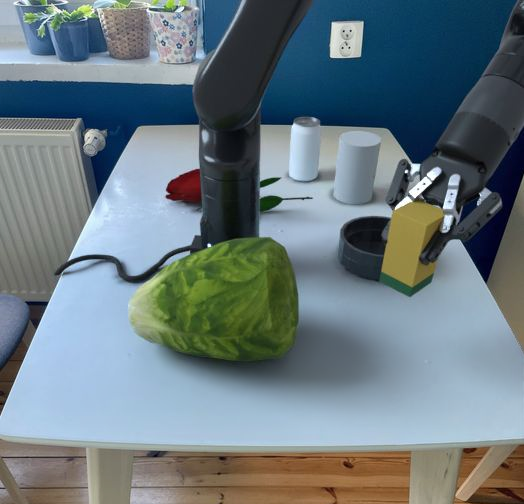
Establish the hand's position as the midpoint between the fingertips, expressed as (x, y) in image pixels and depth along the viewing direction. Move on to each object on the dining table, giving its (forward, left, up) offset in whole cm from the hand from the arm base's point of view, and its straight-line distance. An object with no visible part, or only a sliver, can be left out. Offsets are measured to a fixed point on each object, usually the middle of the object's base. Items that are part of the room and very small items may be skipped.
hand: (404, 253), depth 65 cm
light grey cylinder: (-4, +50, -17) cm, 53 cm away
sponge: (+1, +2, -5) cm, 5 cm away
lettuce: (-24, -1, -17) cm, 29 cm away
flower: (-27, +40, -17) cm, 51 cm away
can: (-15, +58, -17) cm, 63 cm away
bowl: (0, +25, -17) cm, 30 cm away
